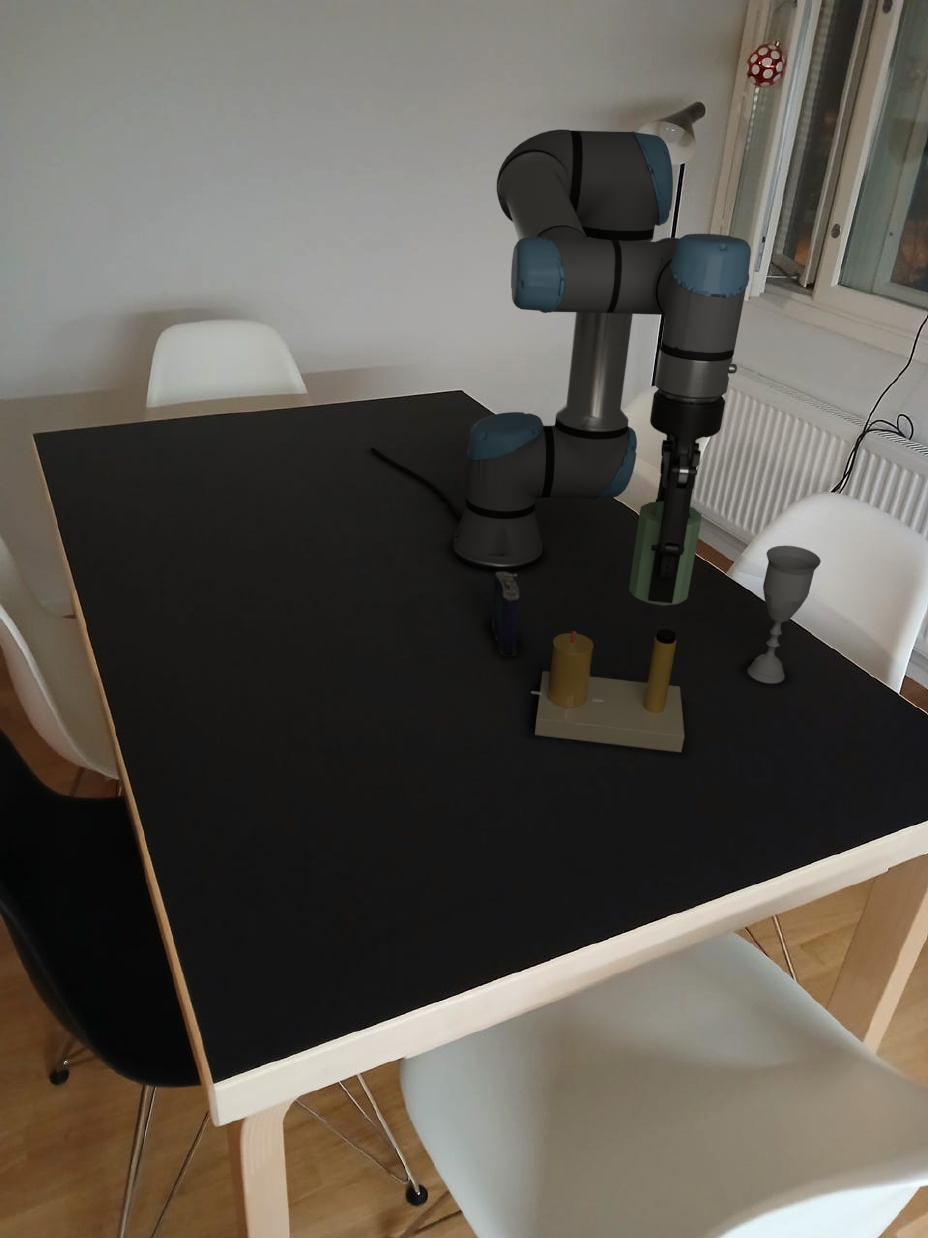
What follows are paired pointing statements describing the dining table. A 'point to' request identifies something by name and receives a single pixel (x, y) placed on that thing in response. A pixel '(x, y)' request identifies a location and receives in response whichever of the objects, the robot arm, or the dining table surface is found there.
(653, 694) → the brown tall cylinder
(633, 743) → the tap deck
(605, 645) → the dining table surface
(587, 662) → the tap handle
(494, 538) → the robot arm
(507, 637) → the flask
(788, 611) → the chalice
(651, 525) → the sleeve
